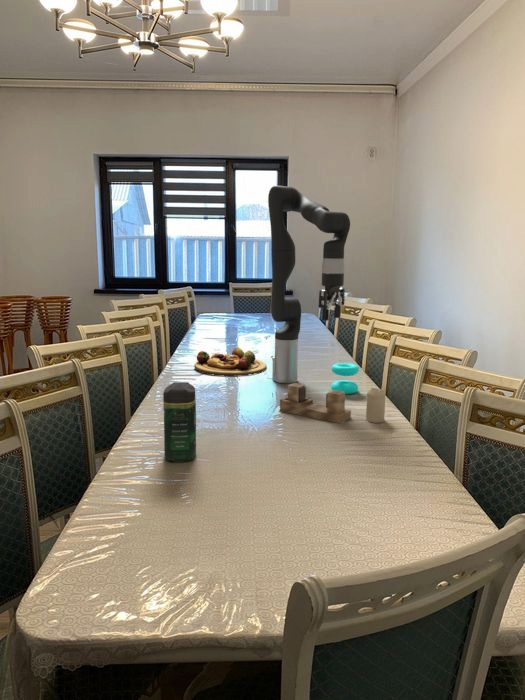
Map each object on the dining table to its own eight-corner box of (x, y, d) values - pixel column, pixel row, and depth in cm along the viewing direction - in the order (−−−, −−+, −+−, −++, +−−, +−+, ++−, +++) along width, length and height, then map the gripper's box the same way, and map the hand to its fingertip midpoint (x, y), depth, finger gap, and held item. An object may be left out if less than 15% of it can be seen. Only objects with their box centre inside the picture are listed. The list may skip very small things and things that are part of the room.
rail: (279, 410, 168) (280, 385, 167) (291, 405, 174) (291, 381, 172) (340, 423, 156) (341, 396, 154) (350, 417, 161) (351, 391, 159)
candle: (385, 418, 161) (386, 387, 159) (383, 423, 156) (384, 391, 154) (367, 416, 163) (368, 385, 161) (364, 421, 157) (366, 390, 156)
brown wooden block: (287, 403, 168) (287, 385, 167) (294, 400, 171) (294, 382, 170) (299, 405, 165) (299, 387, 164) (306, 402, 168) (306, 385, 167)
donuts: (332, 361, 196) (359, 362, 194) (331, 387, 198) (358, 388, 196) (330, 367, 187) (358, 368, 185) (330, 393, 188) (357, 395, 186)
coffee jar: (195, 462, 126) (194, 389, 122) (162, 463, 125) (160, 389, 122) (197, 448, 135) (196, 379, 132) (167, 448, 135) (165, 379, 131)
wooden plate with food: (180, 372, 221) (180, 354, 220) (215, 358, 250) (215, 341, 249) (248, 381, 209) (249, 361, 208) (276, 365, 238) (277, 347, 237)
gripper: (333, 271, 184) (331, 316, 187) (312, 272, 173) (311, 320, 176) (352, 271, 180) (350, 318, 183) (332, 273, 169) (331, 322, 172)
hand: (331, 319), depth 179 cm, fingers open, 8 cm apart
